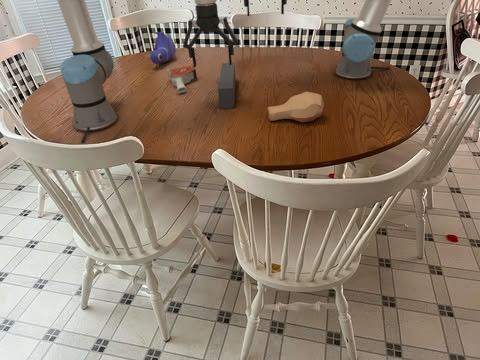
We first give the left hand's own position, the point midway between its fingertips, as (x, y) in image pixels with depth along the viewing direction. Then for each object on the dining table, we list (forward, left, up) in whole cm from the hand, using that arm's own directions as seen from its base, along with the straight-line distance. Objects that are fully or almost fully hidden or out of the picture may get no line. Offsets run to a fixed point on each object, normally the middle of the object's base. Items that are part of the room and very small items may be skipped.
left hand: (212, 65), depth 135 cm
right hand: (+19, -21, +13) cm, 31 cm away
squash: (-19, -30, -15) cm, 38 cm away
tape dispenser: (+20, +17, -15) cm, 30 cm away
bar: (+7, -5, -15) cm, 17 cm away
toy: (+51, +31, -15) cm, 62 cm away
